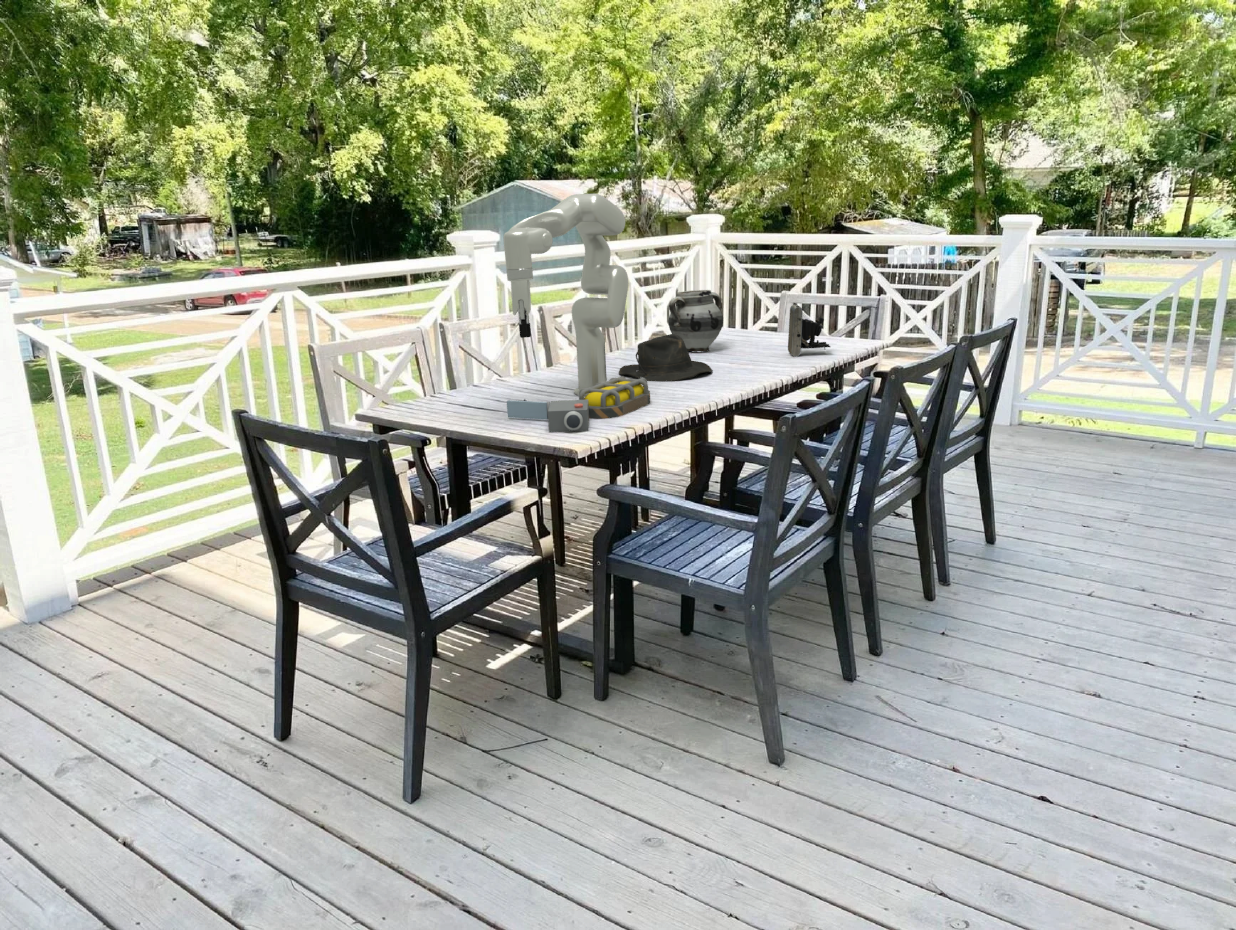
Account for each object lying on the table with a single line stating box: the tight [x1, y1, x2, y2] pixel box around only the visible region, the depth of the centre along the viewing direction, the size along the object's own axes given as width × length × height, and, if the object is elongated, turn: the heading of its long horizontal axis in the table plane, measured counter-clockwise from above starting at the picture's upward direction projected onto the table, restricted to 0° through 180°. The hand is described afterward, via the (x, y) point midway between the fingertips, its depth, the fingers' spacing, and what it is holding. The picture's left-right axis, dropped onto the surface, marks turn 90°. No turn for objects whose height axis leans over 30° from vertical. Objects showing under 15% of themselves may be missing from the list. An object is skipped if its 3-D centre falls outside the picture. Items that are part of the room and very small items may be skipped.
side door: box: [506, 399, 551, 421], centre depth 276 cm, size 14×1×5 cm, turn 68°
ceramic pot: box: [667, 289, 724, 352], centre depth 384 cm, size 29×23×25 cm
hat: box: [618, 333, 713, 383], centre depth 340 cm, size 32×35×14 cm
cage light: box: [578, 375, 651, 420], centre depth 286 cm, size 15×8×30 cm
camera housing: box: [547, 399, 590, 433], centre depth 266 cm, size 16×11×7 cm
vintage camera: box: [787, 303, 831, 357], centre depth 366 cm, size 10×16×20 cm, turn 89°
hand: (525, 336), depth 275 cm, fingers closed
